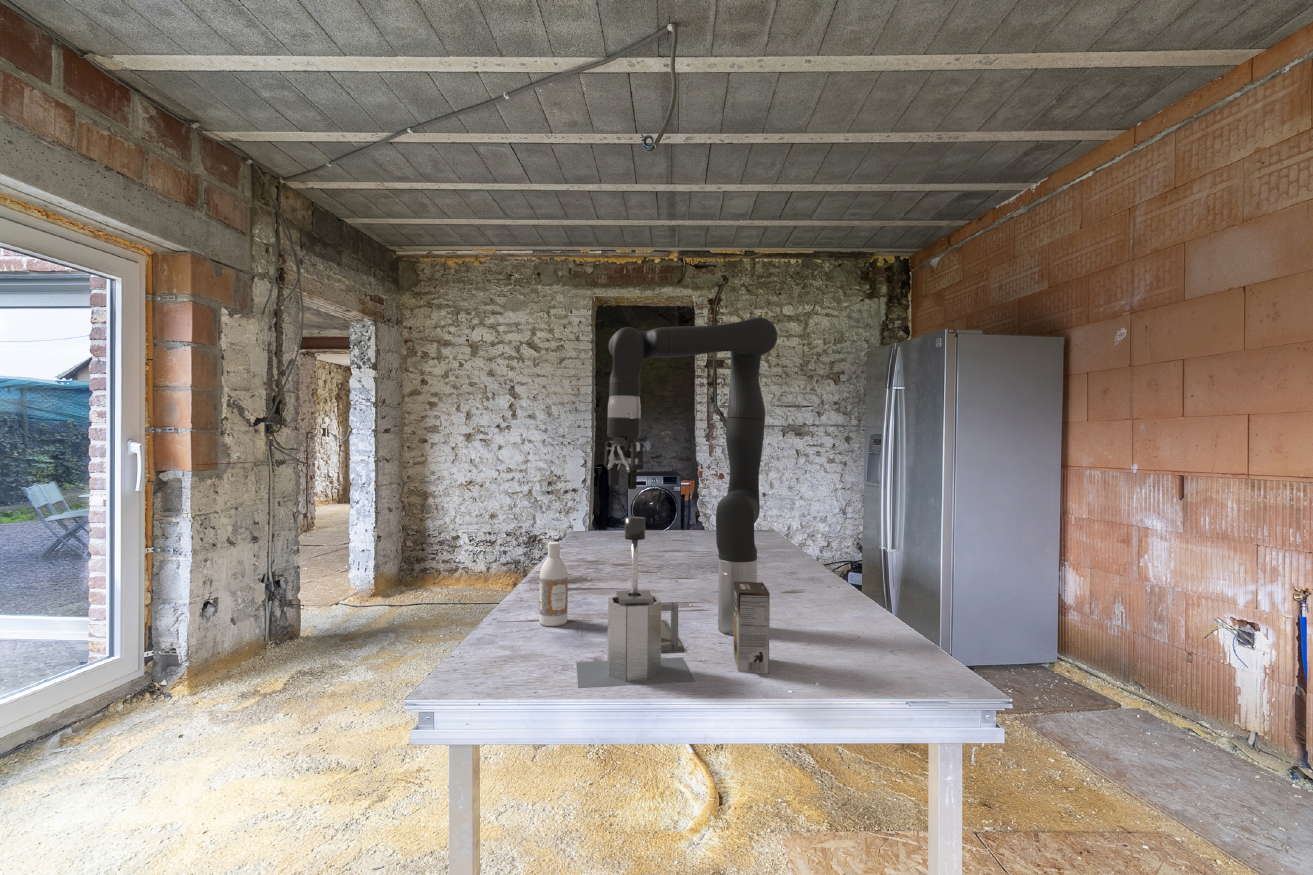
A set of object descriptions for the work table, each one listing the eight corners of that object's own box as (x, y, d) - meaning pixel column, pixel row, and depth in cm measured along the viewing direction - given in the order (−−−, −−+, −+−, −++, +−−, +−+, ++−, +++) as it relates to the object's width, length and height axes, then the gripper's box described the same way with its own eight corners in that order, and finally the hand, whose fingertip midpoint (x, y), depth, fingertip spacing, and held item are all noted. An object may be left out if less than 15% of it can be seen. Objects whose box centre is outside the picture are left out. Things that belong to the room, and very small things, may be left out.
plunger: (648, 621, 123) (649, 515, 123) (654, 631, 117) (654, 519, 117) (615, 622, 122) (616, 516, 122) (618, 633, 115) (619, 520, 116)
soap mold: (668, 628, 151) (668, 613, 151) (684, 655, 131) (684, 639, 131) (627, 629, 149) (627, 615, 149) (636, 658, 129) (637, 641, 130)
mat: (682, 659, 127) (682, 657, 127) (696, 683, 115) (696, 681, 115) (576, 664, 124) (576, 662, 124) (578, 689, 111) (578, 687, 111)
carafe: (672, 660, 126) (673, 587, 126) (682, 678, 116) (682, 599, 116) (606, 663, 123) (607, 589, 124) (610, 682, 114) (611, 602, 114)
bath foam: (545, 628, 148) (546, 545, 148) (534, 621, 153) (535, 541, 154) (571, 624, 151) (572, 543, 152) (560, 617, 157) (560, 539, 157)
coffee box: (732, 657, 129) (733, 580, 129) (763, 658, 128) (763, 581, 129) (736, 673, 120) (737, 591, 120) (769, 674, 119) (770, 591, 119)
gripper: (595, 416, 143) (593, 485, 143) (624, 415, 131) (622, 490, 131) (623, 417, 147) (622, 484, 147) (654, 416, 135) (652, 489, 135)
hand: (622, 487), depth 139 cm, fingers open, 8 cm apart
